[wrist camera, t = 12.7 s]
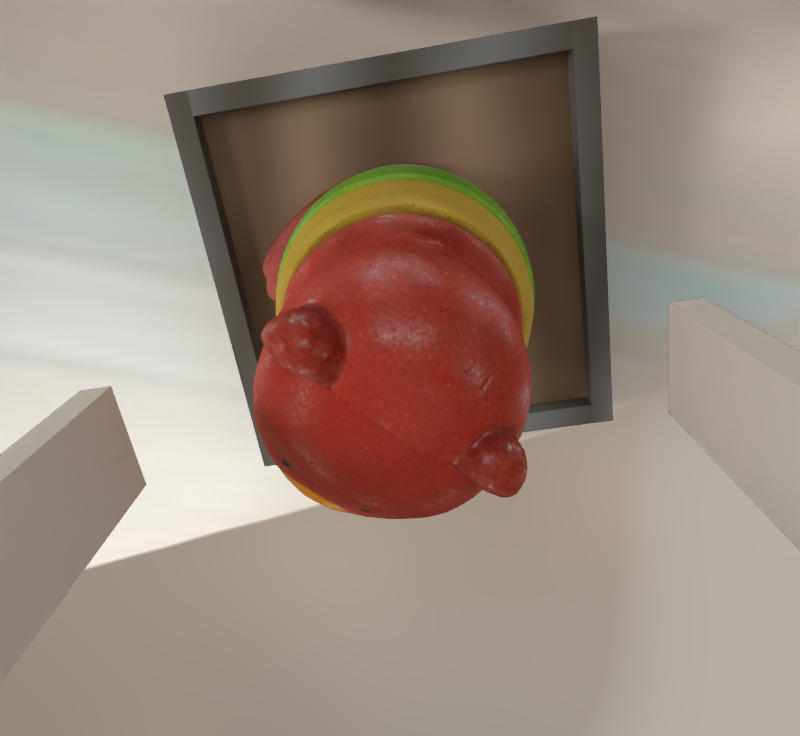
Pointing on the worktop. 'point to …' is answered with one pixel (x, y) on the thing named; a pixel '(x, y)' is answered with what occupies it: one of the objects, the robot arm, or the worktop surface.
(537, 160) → the square tray
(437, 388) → the stacking bear
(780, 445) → the robot arm
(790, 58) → the worktop surface
